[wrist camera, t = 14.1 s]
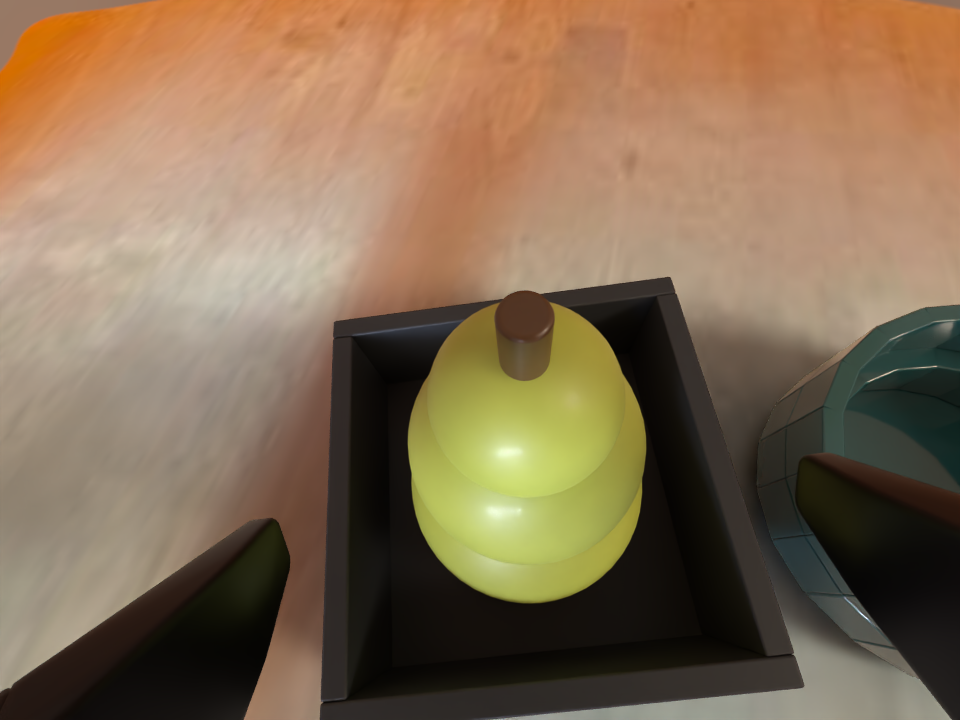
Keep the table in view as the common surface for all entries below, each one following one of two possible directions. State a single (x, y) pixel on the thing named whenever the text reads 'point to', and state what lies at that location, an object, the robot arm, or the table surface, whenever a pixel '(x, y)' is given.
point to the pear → (527, 452)
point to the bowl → (864, 443)
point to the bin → (556, 624)
